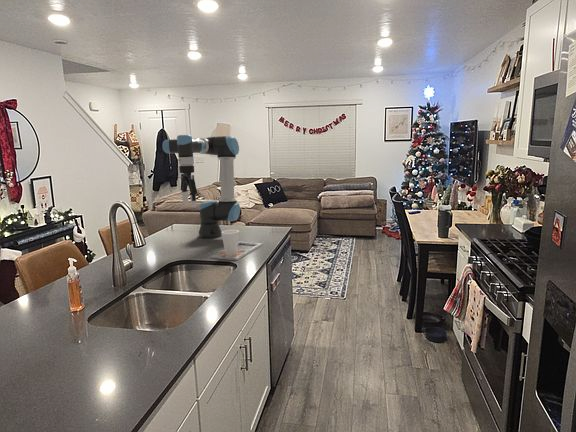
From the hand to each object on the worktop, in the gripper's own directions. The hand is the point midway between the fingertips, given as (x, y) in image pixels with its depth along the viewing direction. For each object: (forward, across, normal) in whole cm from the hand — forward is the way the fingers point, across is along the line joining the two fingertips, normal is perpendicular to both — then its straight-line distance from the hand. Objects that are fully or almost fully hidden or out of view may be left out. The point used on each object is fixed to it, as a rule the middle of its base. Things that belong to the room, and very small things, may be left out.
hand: (189, 205), depth 205 cm
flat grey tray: (+29, +5, +24) cm, 38 cm away
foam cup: (+29, +9, +18) cm, 35 cm away
